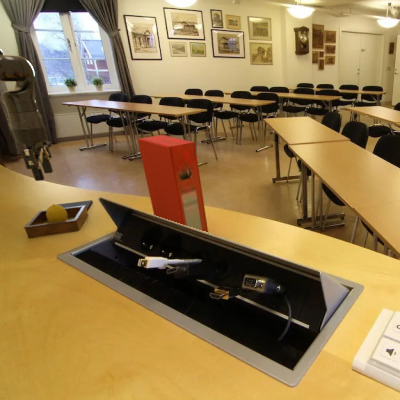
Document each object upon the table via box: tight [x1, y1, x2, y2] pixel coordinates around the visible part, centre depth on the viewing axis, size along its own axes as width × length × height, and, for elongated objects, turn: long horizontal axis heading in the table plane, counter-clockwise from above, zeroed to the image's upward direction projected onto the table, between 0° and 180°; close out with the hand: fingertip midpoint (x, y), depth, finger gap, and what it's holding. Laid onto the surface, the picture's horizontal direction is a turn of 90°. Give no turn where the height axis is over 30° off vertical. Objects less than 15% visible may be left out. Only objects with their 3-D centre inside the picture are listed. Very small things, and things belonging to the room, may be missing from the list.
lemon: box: [46, 203, 68, 223], centre depth 110 cm, size 6×6×8 cm
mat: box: [55, 199, 93, 212], centre depth 125 cm, size 12×10×1 cm
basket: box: [23, 205, 89, 239], centre depth 111 cm, size 14×14×4 cm
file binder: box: [137, 134, 209, 233], centre depth 98 cm, size 8×17×32 cm, turn 52°
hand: (44, 176), depth 104 cm, fingers open, 8 cm apart
